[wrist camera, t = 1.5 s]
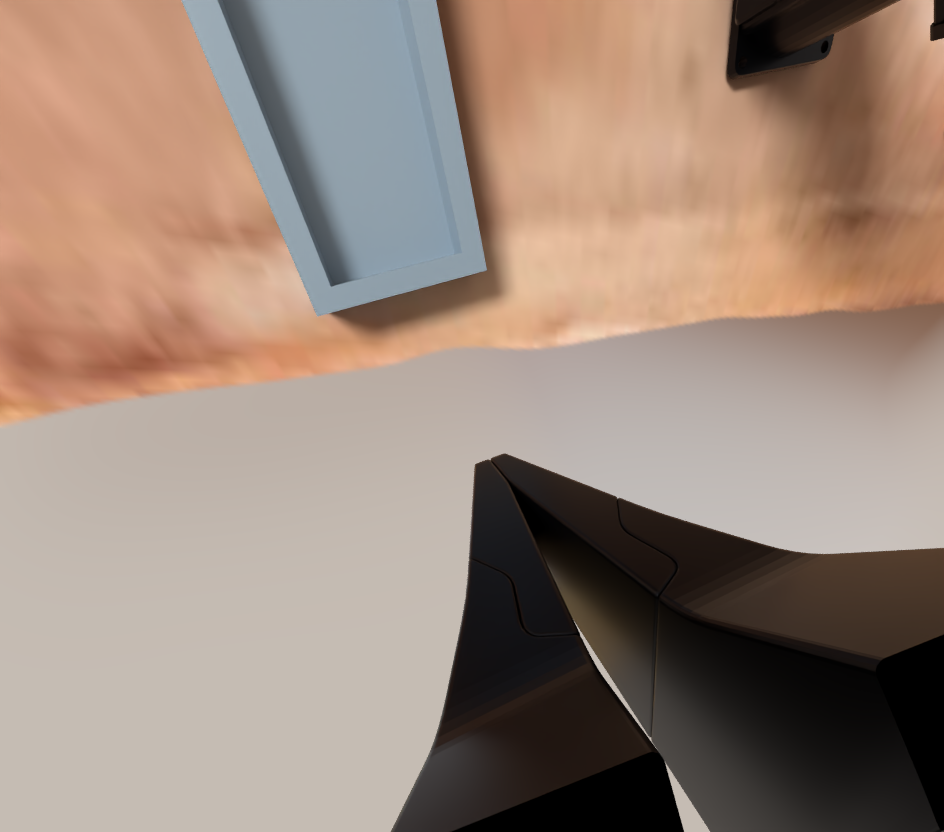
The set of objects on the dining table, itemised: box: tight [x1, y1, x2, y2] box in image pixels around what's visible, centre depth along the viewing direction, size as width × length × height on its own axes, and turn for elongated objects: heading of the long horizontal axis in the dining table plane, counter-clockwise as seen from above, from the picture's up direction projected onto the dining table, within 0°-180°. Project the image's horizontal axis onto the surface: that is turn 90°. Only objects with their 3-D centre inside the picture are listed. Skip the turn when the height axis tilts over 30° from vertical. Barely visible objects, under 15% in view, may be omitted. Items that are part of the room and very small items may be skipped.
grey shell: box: [182, 0, 487, 316], centre depth 13 cm, size 8×14×2 cm, turn 13°
